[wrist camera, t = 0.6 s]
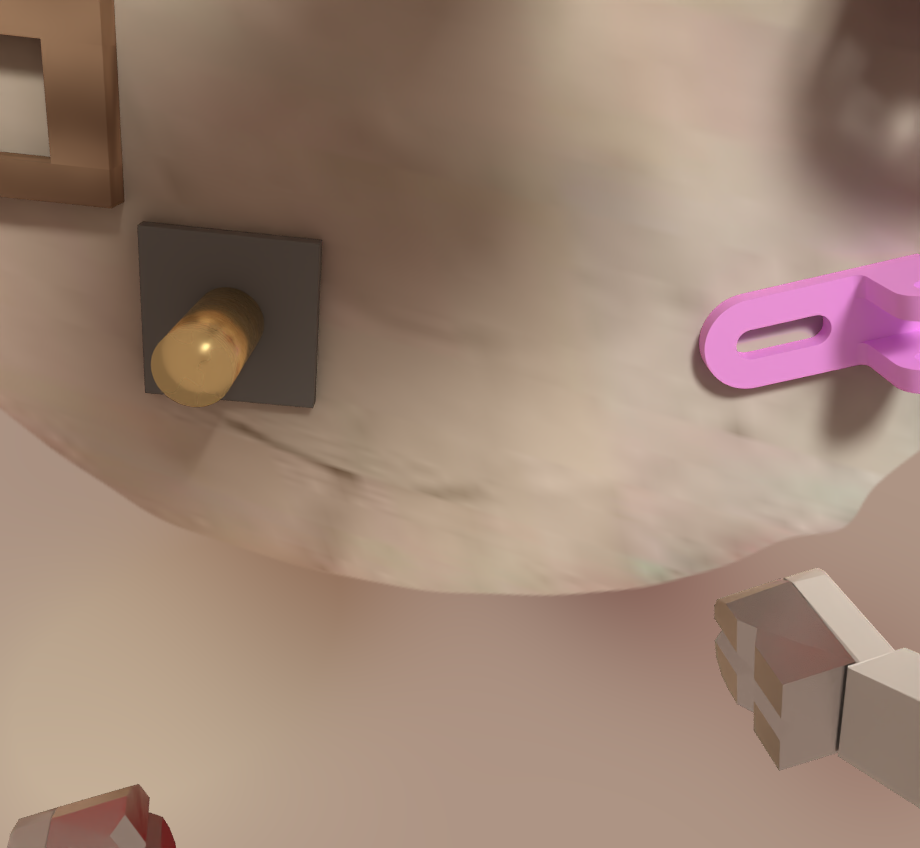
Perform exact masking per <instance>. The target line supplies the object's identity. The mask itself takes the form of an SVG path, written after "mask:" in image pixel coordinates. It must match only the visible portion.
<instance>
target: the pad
mask: <svg viewBox="0 0 920 848" xmlns="http://www.w3.org/2000/svg"><path fill="white" fill-rule="evenodd" d="M137 226H138V247H139V269H140V291H141V312H142V334H143V356H144V377H145V393H154V394H164V393H163V392H162V391H161V390H160V388H159V387H158V386H157V384H156V382H155V380H154V378H153V375H152V371H151V358H152V354H153V351H154V349H155V348H156V346H157V345H158V343H159V342H160V341H161V340H162V339H163V338H164V337H165V336H166V335H167V334H168V333H169V332H170V331H171V330H172V328H173V327H174V326H175V325H176V324H177V323H178V322H179V321H180V320H181V319H182V318H183V317H184V316H185V315H186V314H187V312H188V311H189V310H190V309H191V308H192V307H193V306H194V305H195V304H196V303H197V302H198V301H199V300H200V299H201V298H202V297H203V296H204V295H205V294H206V293H207V292H209V291H211V290H213V289H216V288H221V287H230V288H235V289H239V290H241V291H243V292H245V293H247V294H248V295H250V296H251V297H252V298H253V299H254V300H255V301H256V302H257V304H258V305H259V307H260V309H261V311H262V314H263V317H264V330H263V334H262V336H261V338H260V340H259V342H258V343H257V345H256V347H255V348H254V350H253V351H252V353H251V355H250V356H249V358H248V360H247V361H246V363H245V364H244V366H243V368H242V369H241V371H240V373H239V374H238V376H237V377H236V379H235V381H234V382H233V384H232V386H231V387H230V389H229V390H228V392H227V393H226V395H225V396H224V397H223V398H222V399H220V400H230V401H241V402H252V403H263V404H274V405H285V406H296V407H307V408H313V407H314V404H315V398H316V374H317V350H318V326H319V301H320V277H321V253H322V240H316V239H306V238H296V237H287V236H277V235H267V234H258V233H248V232H238V231H228V230H219V229H209V228H199V227H190V226H180V225H170V224H161V223H151V222H142V223H140V224H139V225H137Z"/></svg>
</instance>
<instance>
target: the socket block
mask: <svg viewBox="0 0 920 848" xmlns="http://www.w3.org/2000/svg"><path fill="white" fill-rule="evenodd" d="M0 34H4V35H13V36H22V37H31V38H39V39H40V41H41V53H42V65H43V76H44V88H45V100H46V112H47V124H48V135H49V147H50V157H45V156H36V155H26V154H17V153H8V152H0V197H7V198H17V199H27V200H36V201H46V202H56V203H65V204H75V205H85V206H94V207H104V208H113V207H115V206H117V205H119V204H121V203H123V202H124V187H123V168H122V149H121V129H120V110H119V91H118V71H117V52H116V33H115V14H114V0H0Z"/></svg>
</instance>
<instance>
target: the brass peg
mask: <svg viewBox="0 0 920 848" xmlns="http://www.w3.org/2000/svg"><path fill="white" fill-rule="evenodd" d="M263 330H264V317H263V314H262V311H261V309H260V307H259V305H258V304H257V302H256V301H255V300H254V299H253V298H252V297H251V296H250V295H248V294H247V293H245V292H243V291H241V290H239V289H235V288H230V287H221V288H216V289H213V290H211V291H209V292H207V293H206V294H205V295H204V296H203V297H202V298H201V299H200V300H199V301H198V302H197V303H196V304H195V305H194V306H193V307H192V308H191V309H190V310H189V311H188V312H187V314H186V315H185V316H184V317H183V318H182V319H181V320H180V321H179V322H178V323H177V324H176V325H175V326H174V327H173V328H172V330H171V331H170V332H169V333H168V334H167V335H166V336H165V337H164V338H163V339H162V340H161V341H160V342H159V343H158V345H157V346H156V348H155V349H154V351H153V354H152V358H151V371H152V375H153V378H154V380H155V382H156V384H157V386H158V387H159V388H160V390H161V391H162V392H163V393H164V394H165V395H166V396H167V397H169V398H170V399H172V400H173V401H175V402H177V403H179V404H182V405H185V406H190V407H204V406H208V405H211V404H214V403H216V402H217V401H219V400H220V399H222V398H223V397H224V396H225V395H226V393H227V392H228V390H229V389H230V387H231V386H232V384H233V382H234V381H235V379H236V377H237V376H238V374H239V373H240V371H241V369H242V368H243V366H244V364H245V363H246V361H247V360H248V358H249V356H250V355H251V353H252V351H253V350H254V348H255V347H256V345H257V343H258V342H259V340H260V338H261V336H262V334H263Z"/></svg>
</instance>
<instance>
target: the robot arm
mask: <svg viewBox="0 0 920 848" xmlns="http://www.w3.org/2000/svg"><path fill="white" fill-rule="evenodd" d="M714 619H715V620H716V622H717V623H718V625H719V626H720V628H721V629H722V631H721V632H720V633H719V635H718V636H717V638H716V639H715V649H716V658H717V661H718V665H719V668H720V672H721V675H722V677H723V679H724V681H725V683H726V685H727V688H728V690H729V691H730V693H731V694H732V696H733V698H734V700H735V701H736V703H737V704H738V705H740V706H742V707H744V708H746V709H748V710H750V711H752V712H753V713H754V732H755V733H756V735H757V736H758V738H759V740H760V741H761V743H762V744H763V746H764V747H765V749H766V751H767V752H768V754H769V755H770V757H771V759H772V760H773V762H774V763H775V765H776V767H777V768H778V770H779V771H780V770H783V769H787V768H790V767H793V766H796V765H799V764H803V763H806V762H809V761H813V760H816V759H819V758H823V757H826V756H829V755H832V754H835V753H838V756H839V757H840V758H842V759H843V760H845V761H846V762H848V763H849V764H851V765H853V766H854V767H856V768H857V769H859V770H861V771H862V772H864V773H865V774H867V775H868V776H870V777H872V778H873V779H875V780H876V781H878V782H879V783H881V784H882V785H884V786H885V787H887V788H889V789H890V790H892V791H894V792H895V793H897V794H898V795H900V796H902V797H903V798H904V799H906V800H907V801H909V802H911V803H912V804H914V805H916V806H917V807H918V808H920V654H919V653H917V652H914V651H912V650H910V649H907V648H902V649H898V650H894V649H893V648H892V647H891V645H890V644H889V643H888V642H887V641H886V640H885V639H884V638H883V636H882V635H881V634H880V633H879V632H878V631H877V630H876V629H875V627H874V626H873V625H872V624H871V623H870V622H869V621H868V619H867V618H866V617H865V616H864V615H863V614H862V613H861V612H860V610H859V609H858V608H857V607H856V606H855V605H854V604H853V603H852V602H851V600H850V599H849V598H848V597H847V596H846V595H845V593H843V591H842V590H841V589H840V588H839V587H838V586H837V584H836V583H835V582H834V581H833V580H832V579H831V578H830V577H829V576H828V574H827V573H826V572H825V571H823V570H821V569H819V568H814V569H811V570H808V571H805V572H802V573H798V574H795V575H792V576H789V577H786V578H784V579H777V580H774V581H771V582H768V583H765V584H762V585H759V586H756V587H753V588H750V589H747V590H744V591H741V592H738V593H735V594H732V595H729V596H726V597H723V598H720V599H717V601H716V604H715V605H714ZM7 848H176V845H175V841H174V838H173V835H172V833H171V831H170V828H169V826H168V824H167V823H166V821H165V820H164V819H163V817H161V816H158V815H155V814H152V813H149V797H148V795H147V794H146V793H145V791H144V790H143V789H142V787H141V786H140V785H139V784H137V785H134V786H130V787H126V788H123V789H119V790H116V791H112V792H109V793H105V794H102V795H98V796H95V797H91V798H88V799H85V800H81V801H78V802H74V803H71V804H68V805H64V806H60V807H57V808H54V809H51V810H47V811H44V812H41V813H38V814H34V815H31V816H27V817H24V818H21V819H19V820H18V822H17V823H16V825H15V827H14V828H13V830H12V832H11V834H10V838H9V842H8V846H7Z"/></svg>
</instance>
